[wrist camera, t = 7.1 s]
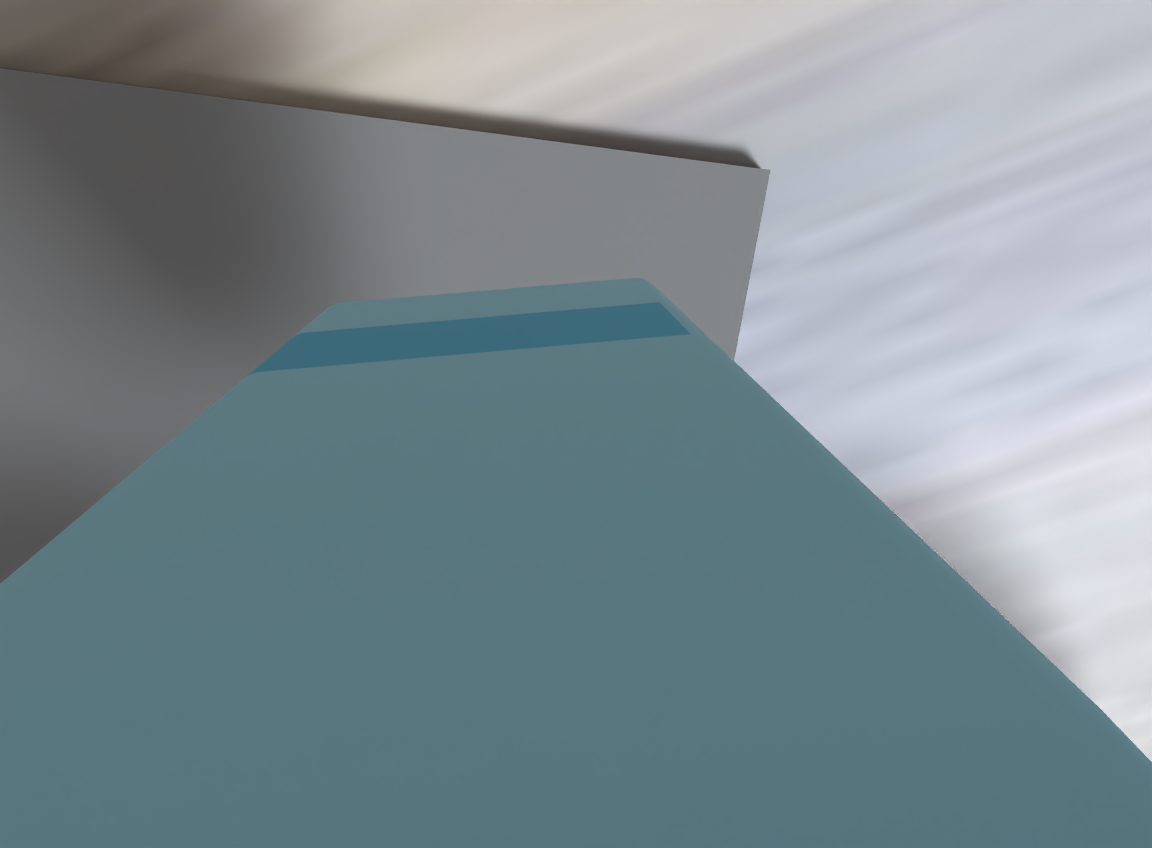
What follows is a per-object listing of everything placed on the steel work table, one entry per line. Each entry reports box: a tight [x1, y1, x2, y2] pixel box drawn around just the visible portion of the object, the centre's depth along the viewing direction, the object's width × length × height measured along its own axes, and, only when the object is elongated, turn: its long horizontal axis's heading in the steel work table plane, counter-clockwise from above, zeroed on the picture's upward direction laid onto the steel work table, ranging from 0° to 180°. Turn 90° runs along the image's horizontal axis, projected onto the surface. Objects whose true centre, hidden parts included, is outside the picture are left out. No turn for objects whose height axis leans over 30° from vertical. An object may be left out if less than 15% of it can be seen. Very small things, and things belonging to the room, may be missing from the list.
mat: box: [0, 68, 770, 583], centre depth 24 cm, size 22×16×1 cm
